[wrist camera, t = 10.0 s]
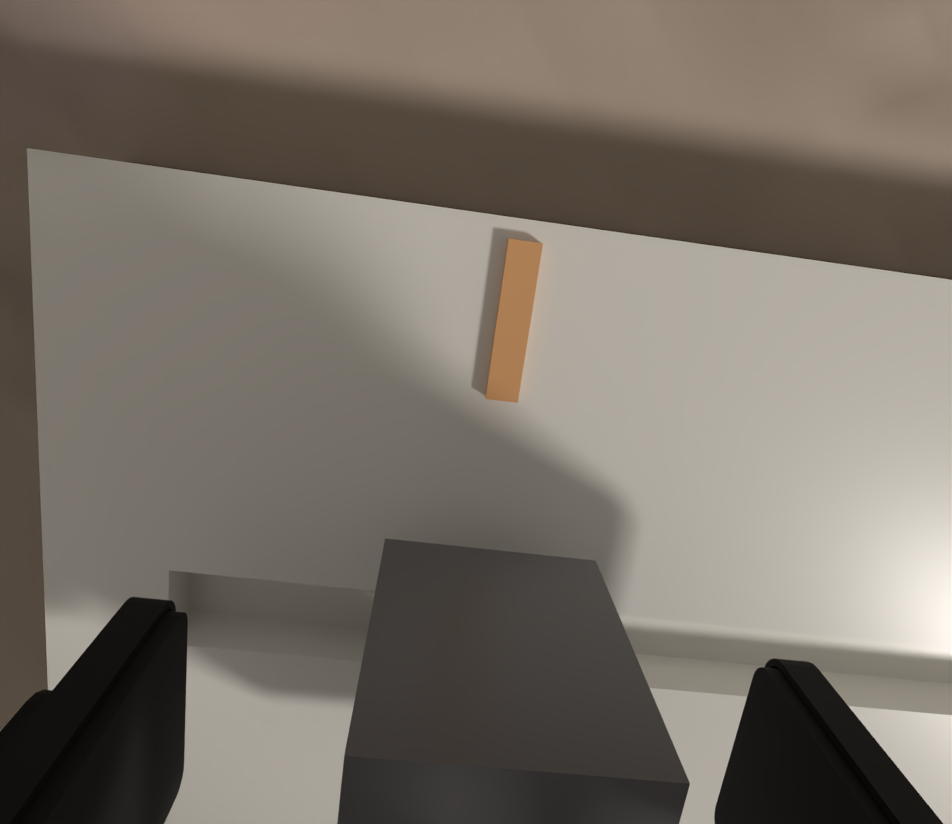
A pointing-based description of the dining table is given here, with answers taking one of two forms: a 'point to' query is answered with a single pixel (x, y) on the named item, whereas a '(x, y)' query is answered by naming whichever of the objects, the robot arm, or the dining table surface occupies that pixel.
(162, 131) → the dining table surface
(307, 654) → the slider console
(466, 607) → the fader
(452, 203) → the dining table surface
